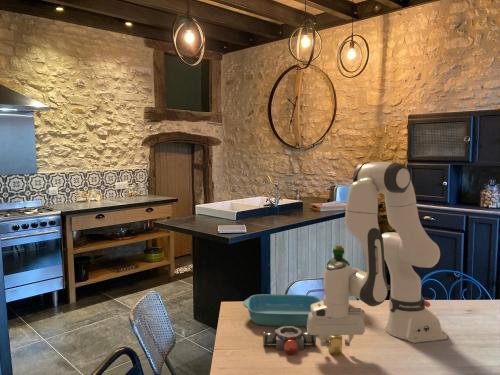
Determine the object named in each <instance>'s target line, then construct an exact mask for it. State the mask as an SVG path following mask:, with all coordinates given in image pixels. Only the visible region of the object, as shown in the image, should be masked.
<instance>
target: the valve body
mask: <svg viewBox="0 0 500 375" xmlns="http://www.w3.org/2000/svg"><path fill="white" fill-rule="evenodd" d="M316 336H317V335H310V334H309V333H308V332H307V331H306V332H305V331H304V332H302V329H300V328H299V327H297V326H279V328H277V329H274V332H266V331H263V332H262V344H263V346H266V345H275V349H276V351H284V352H285V353H286V354H287V355H291V356H292V355H295V354H296V353H297V352H298V351H304V350H305V347H304V346H305V345H312V346H316V344H317V338H316Z"/></svg>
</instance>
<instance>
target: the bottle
mask: <svg viewBox="0 0 500 375" xmlns="http://www.w3.org/2000/svg"><path fill="white" fill-rule="evenodd" d="M332 253H333V257H331V259H329V261H327V262H326V266H327V265H328V264H330V263H332V262H344V263H346V264H347V265H348V266H350V267H351V264H350V262H349V261H348V260H347V259H345V258H344V255H345V249H344V247H343V244H338V243H337V244H335V245H334V247H333V248H332Z"/></svg>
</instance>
